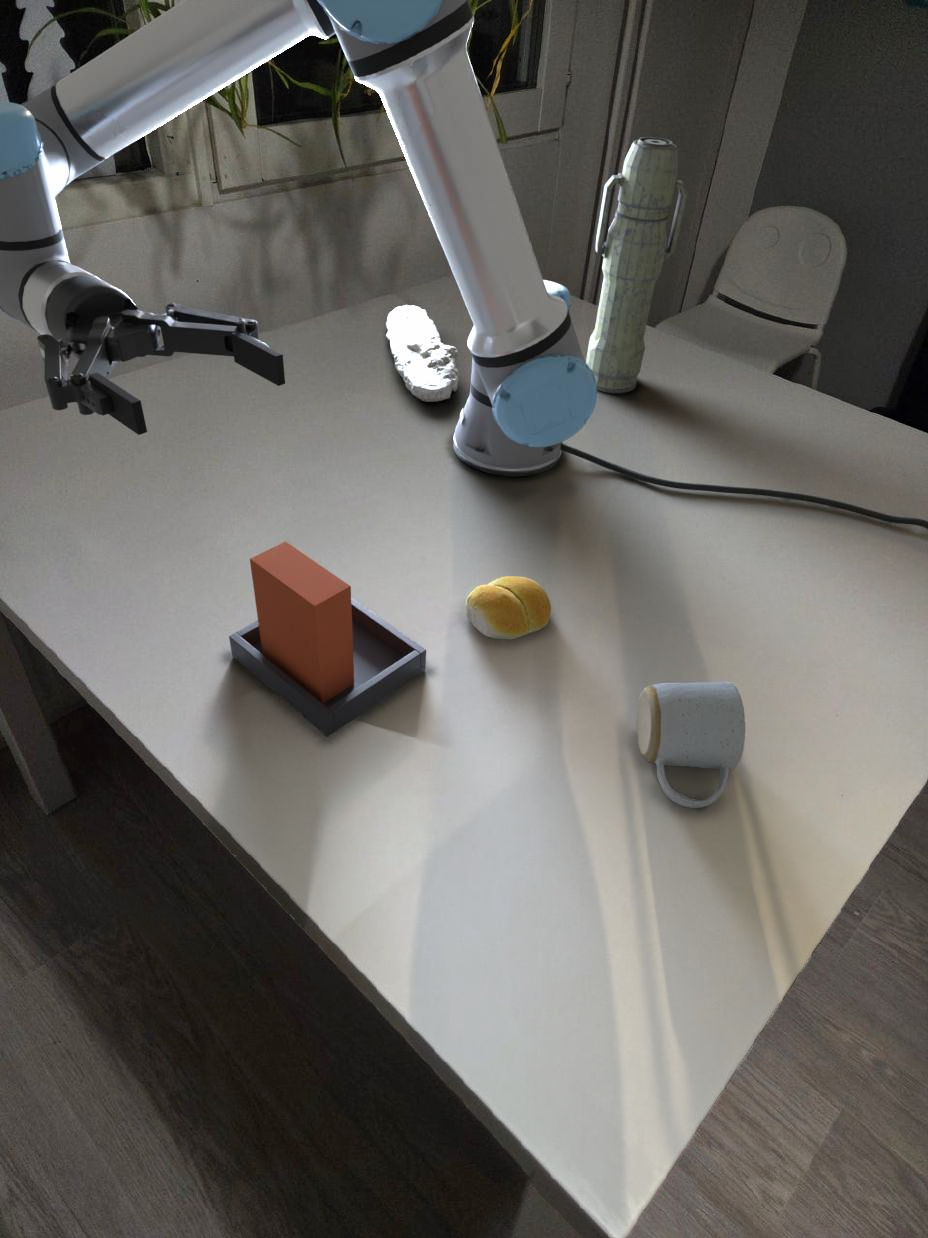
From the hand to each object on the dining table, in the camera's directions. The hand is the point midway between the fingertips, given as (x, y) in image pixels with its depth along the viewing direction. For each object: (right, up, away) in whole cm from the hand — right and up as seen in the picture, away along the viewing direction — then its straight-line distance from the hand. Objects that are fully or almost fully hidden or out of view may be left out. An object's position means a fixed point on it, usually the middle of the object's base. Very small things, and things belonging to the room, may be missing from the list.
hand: (214, 392), depth 68 cm
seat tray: (+7, -23, +14) cm, 28 cm away
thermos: (+45, +20, +68) cm, 84 cm away
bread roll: (+25, -19, +21) cm, 38 cm away
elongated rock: (+13, +24, +69) cm, 75 cm away
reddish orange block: (+5, -24, +12) cm, 27 cm away
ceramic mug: (+41, -32, +7) cm, 52 cm away
